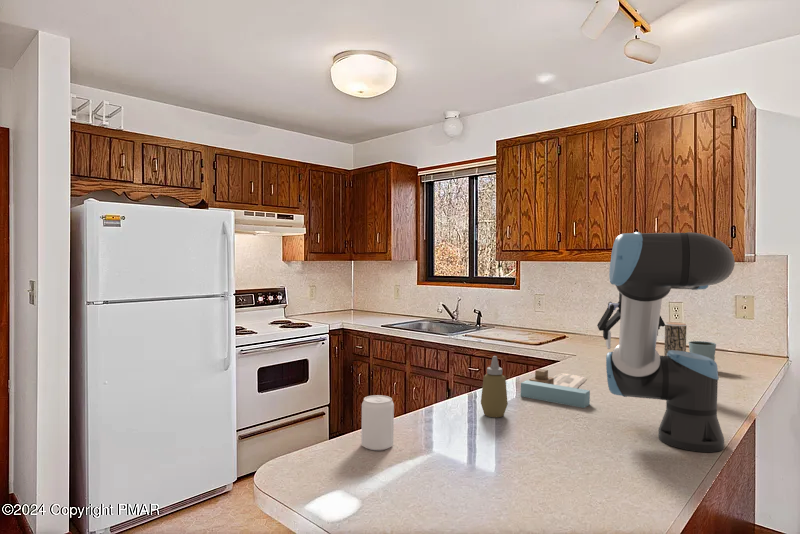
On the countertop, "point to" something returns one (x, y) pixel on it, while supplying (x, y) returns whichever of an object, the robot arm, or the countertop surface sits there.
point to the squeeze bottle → (494, 391)
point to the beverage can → (377, 422)
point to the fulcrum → (542, 377)
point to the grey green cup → (703, 348)
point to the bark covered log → (675, 337)
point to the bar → (555, 393)
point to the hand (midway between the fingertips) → (629, 345)
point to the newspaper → (569, 380)
